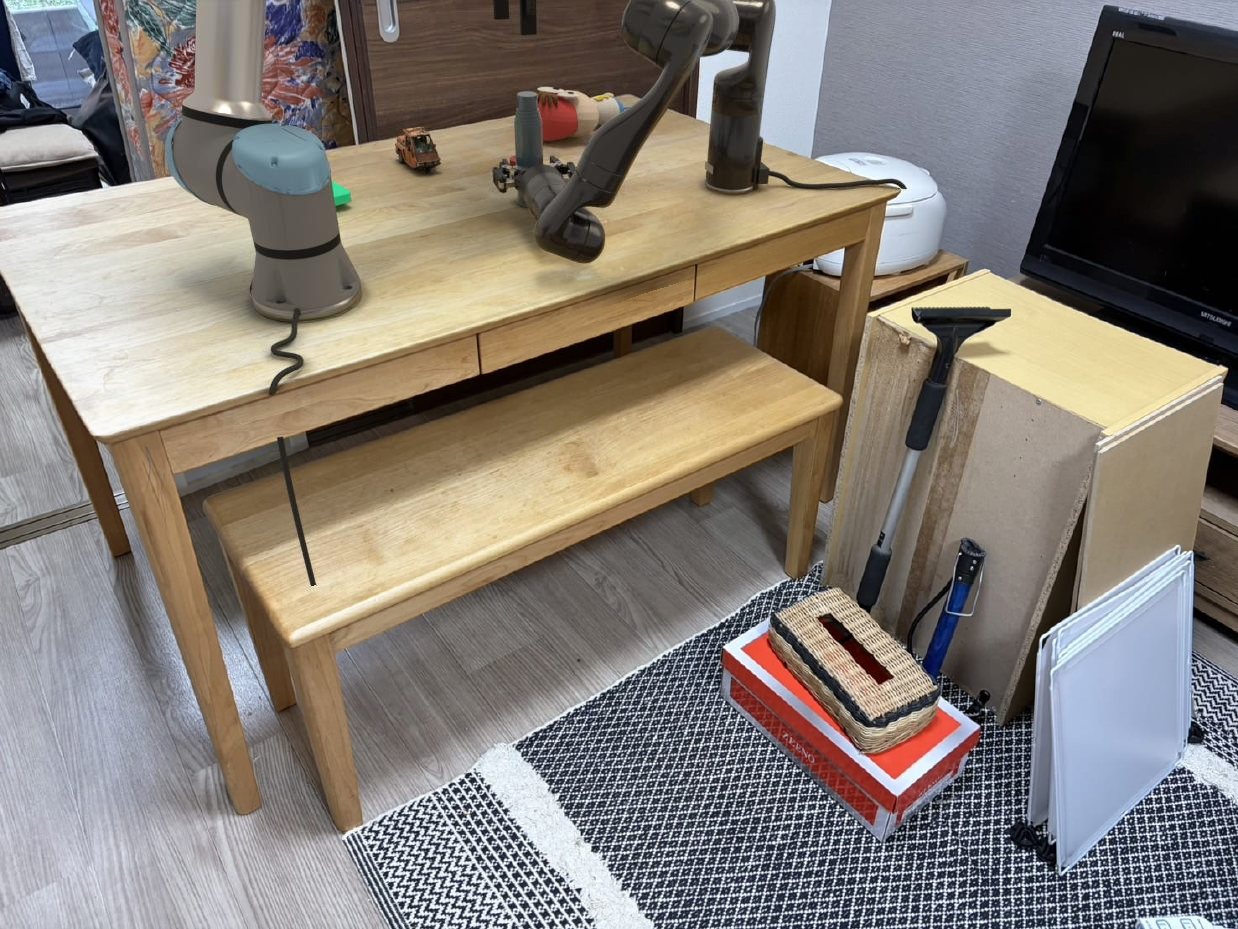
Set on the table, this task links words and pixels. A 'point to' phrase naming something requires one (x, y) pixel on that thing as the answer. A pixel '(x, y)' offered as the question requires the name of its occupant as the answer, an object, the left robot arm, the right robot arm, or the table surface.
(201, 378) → the table surface
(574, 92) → the toy
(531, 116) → the bottle
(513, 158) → the cap
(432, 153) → the toy car
